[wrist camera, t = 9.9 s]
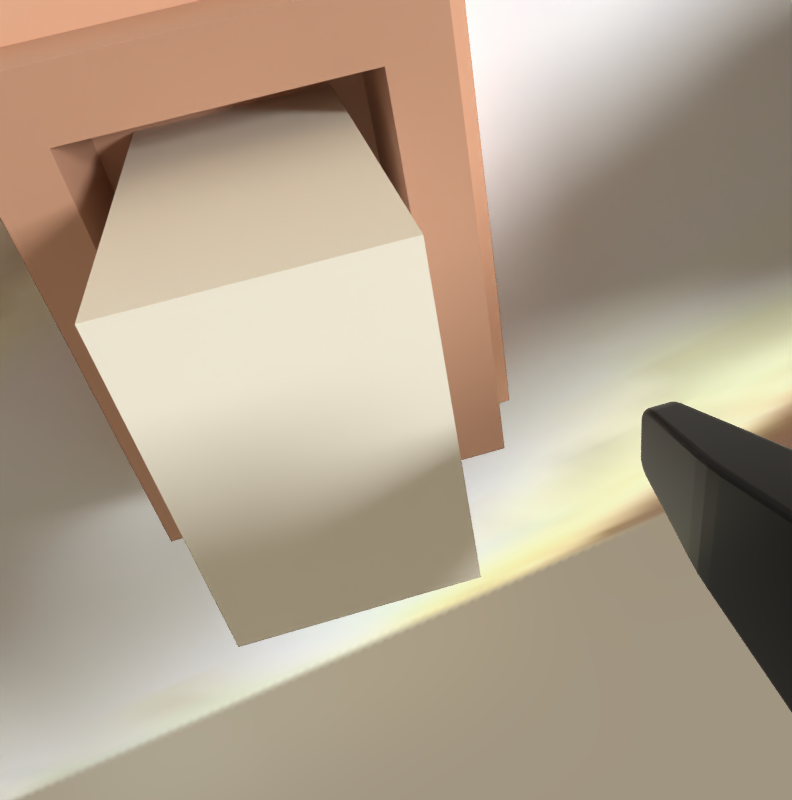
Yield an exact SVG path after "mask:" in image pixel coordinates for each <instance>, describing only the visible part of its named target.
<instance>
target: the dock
mask: <svg viewBox="0 0 792 800" xmlns="http://www.w3.org/2000/svg"><path fill="white" fill-rule="evenodd" d="M325 85H331V86H332V88H333V89H334V91H335V93H336V94H337V96H338V98H339V99H340V101H341V102H342V104H343V106H344V107H345V109H346V110H347V112H348V114H349V115H350V117H351V119H352V120H353V122H354V123H355V125H356V127H357V128H358V130H359V131H360V133H361V135H362V136H363V138H364V140H365V141H366V143H367V144H368V146H369V148H370V149H371V151H372V152H373V154H374V156H375V157H376V159H377V161H378V162H379V164H380V165H381V167H382V169H383V170H384V172H385V173H386V175H387V177H388V178H389V180H390V182H391V183H392V185H393V186H394V188H395V190H396V191H397V193H398V194H399V196H400V198H401V199H402V201H403V203H404V204H405V206H406V207H407V209H408V211H409V212H410V214H411V216H412V217H413V219H414V220H415V222H416V224H417V225H418V227H419V228H420V230H421V232H422V233H423V236H424V242H425V248H426V254H427V260H428V266H429V272H430V278H431V284H432V290H433V295H434V301H435V307H436V313H437V319H438V325H439V331H440V337H441V343H442V349H443V355H444V361H445V367H446V373H447V379H448V385H449V391H450V397H451V403H452V409H453V415H454V421H455V427H456V433H457V439H458V444H459V450H460V456H461V460H463V459H467V458H471V457H474V456H478V455H481V454H485V453H488V452H492V451H496V450H499V449H503V448H504V441H503V433H502V424H501V416H500V408H499V403H500V402H504V401H507V400H509V393H508V384H507V375H506V366H505V357H504V348H503V339H502V330H501V321H500V312H499V303H498V294H497V285H496V276H495V267H494V258H493V249H492V240H491V231H490V223H489V214H488V205H487V196H486V187H485V178H484V169H483V160H482V151H481V142H480V133H479V124H478V115H477V106H476V97H475V88H474V79H473V70H472V61H471V52H470V43H469V34H468V25H467V16H466V8H465V0H0V218H1V219H2V221H3V223H4V225H5V227H6V229H7V231H8V233H9V235H10V237H11V238H12V240H13V242H14V244H15V246H16V248H17V250H18V252H19V254H20V256H21V257H22V259H23V261H24V263H25V265H26V267H27V269H28V271H29V273H30V274H31V276H32V278H33V280H34V282H35V284H36V286H37V288H38V290H39V292H40V293H41V295H42V297H43V299H44V301H45V303H46V305H47V307H48V309H49V311H50V312H51V314H52V316H53V318H54V320H55V322H56V324H57V326H58V328H59V329H60V331H61V333H62V335H63V337H64V339H65V341H66V343H67V345H68V347H69V348H70V350H71V352H72V354H73V356H74V358H75V360H76V362H77V364H78V366H79V367H80V369H81V371H82V373H83V375H84V377H85V379H86V381H87V383H88V384H89V386H90V388H91V390H92V392H93V394H94V396H95V398H96V400H97V402H98V403H99V405H100V407H101V409H102V411H103V413H104V415H105V417H106V419H107V421H108V422H109V424H110V426H111V428H112V430H113V432H114V434H115V436H116V438H117V439H118V441H119V443H120V445H121V447H122V449H123V451H124V453H125V455H126V457H127V458H128V460H129V462H130V464H131V466H132V468H133V470H134V472H135V474H136V476H137V477H138V479H139V481H140V483H141V485H142V487H143V489H144V491H145V493H146V494H147V496H148V498H149V500H150V502H151V504H152V506H153V508H154V510H155V512H156V513H157V515H158V517H159V519H160V521H161V523H162V525H163V527H164V529H165V531H166V532H167V534H168V536H169V538H170V540H171V541H174V540H178V539H181V538H183V537H182V535H181V533H180V531H179V529H178V527H177V525H176V523H175V521H174V519H173V517H172V515H171V513H170V511H169V509H168V507H167V505H166V503H165V501H164V499H163V497H162V495H161V493H160V491H159V489H158V487H157V485H156V484H155V482H154V480H153V478H152V476H151V474H150V472H149V470H148V468H147V466H146V464H145V462H144V460H143V458H142V456H141V454H140V452H139V450H138V448H137V446H136V444H135V442H134V440H133V438H132V436H131V434H130V432H129V430H128V428H127V426H126V424H125V422H124V421H123V419H122V417H121V415H120V413H119V411H118V409H117V407H116V405H115V403H114V401H113V399H112V397H111V395H110V393H109V391H108V389H107V387H106V385H105V383H104V381H103V379H102V377H101V375H100V373H99V371H98V369H97V367H96V365H95V363H94V361H93V360H92V358H91V356H90V354H89V352H88V350H87V348H86V346H85V344H84V342H83V340H82V338H81V336H80V334H79V332H78V330H77V328H76V326H75V322H76V318H77V315H78V312H79V309H80V305H81V302H82V299H83V296H84V292H85V289H86V286H87V283H88V279H89V276H90V273H91V270H92V266H93V263H94V260H95V257H96V253H97V250H98V247H99V244H100V240H101V237H102V234H103V231H104V227H105V224H106V221H107V218H108V214H109V211H110V208H111V205H112V201H113V198H114V195H115V192H116V188H117V185H118V182H119V178H120V175H121V172H122V169H123V165H124V162H125V159H126V156H127V152H128V149H129V146H130V143H131V139H132V136H133V133H134V132H136V131H140V130H144V129H148V128H152V127H156V126H161V125H165V124H169V123H173V122H177V121H181V120H185V119H189V118H194V117H198V116H202V115H206V114H210V113H214V112H218V111H222V110H227V109H231V108H235V107H239V106H243V105H247V104H251V103H255V102H260V101H264V100H268V99H272V98H276V97H280V96H284V95H288V94H292V93H297V92H301V91H305V90H309V89H313V88H317V87H321V86H325Z"/></svg>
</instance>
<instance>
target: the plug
mask: <svg viewBox="0 0 792 800" xmlns="http://www.w3.org/2000/svg"><path fill="white" fill-rule="evenodd" d="M75 326H76V328H77V330H78V332H79V334H80V336H81V338H82V340H83V342H84V344H85V346H86V348H87V350H88V352H89V354H90V356H91V358H92V360H93V361H94V363H95V365H96V367H97V369H98V371H99V373H100V375H101V377H102V379H103V381H104V383H105V385H106V387H107V389H108V391H109V393H110V395H111V397H112V399H113V401H114V403H115V405H116V407H117V409H118V411H119V413H120V415H121V417H122V419H123V421H124V422H125V424H126V426H127V428H128V430H129V432H130V434H131V436H132V438H133V440H134V442H135V444H136V446H137V448H138V450H139V452H140V454H141V456H142V458H143V460H144V462H145V464H146V466H147V468H148V470H149V472H150V474H151V476H152V478H153V480H154V482H155V484H156V485H157V487H158V489H159V491H160V493H161V495H162V497H163V499H164V501H165V503H166V505H167V507H168V509H169V511H170V513H171V515H172V517H173V519H174V521H175V523H176V525H177V527H178V529H179V531H180V533H181V535H182V537H183V539H184V541H185V543H186V545H187V547H188V548H189V550H190V552H191V554H192V556H193V558H194V560H195V562H196V564H197V566H198V568H199V570H200V572H201V574H202V576H203V578H204V580H205V582H206V584H207V586H208V588H209V590H210V592H211V594H212V596H213V598H214V600H215V602H216V604H217V606H218V608H219V610H220V611H221V613H222V615H223V617H224V619H225V621H226V623H227V625H228V627H229V629H230V631H231V633H232V635H233V637H234V639H235V641H236V643H237V645H238V647H240V646H244V645H247V644H250V643H254V642H257V641H261V640H264V639H268V638H271V637H275V636H278V635H282V634H285V633H288V632H292V631H295V630H299V629H302V628H306V627H309V626H313V625H316V624H320V623H323V622H327V621H330V620H333V619H337V618H340V617H344V616H347V615H351V614H354V613H358V612H361V611H365V610H368V609H371V608H375V607H378V606H382V605H385V604H389V603H392V602H396V601H399V600H403V599H406V598H409V597H413V596H416V595H420V594H423V593H427V592H430V591H434V590H437V589H441V588H444V587H448V586H451V585H454V584H458V583H461V582H465V581H468V580H472V579H475V578H479V577H481V576H480V570H479V564H478V558H477V552H476V546H475V540H474V534H473V528H472V522H471V516H470V510H469V504H468V498H467V492H466V486H465V480H464V474H463V468H462V462H461V456H460V450H459V444H458V439H457V433H456V427H455V421H454V415H453V409H452V403H451V397H450V391H449V385H448V379H447V373H446V367H445V361H444V355H443V349H442V343H441V337H440V331H439V325H438V319H437V313H436V307H435V301H434V295H433V290H432V284H431V278H430V272H429V266H428V260H427V254H426V248H425V242H424V236H423V233H422V232H421V230H420V228H419V227H418V225H417V224H416V222H415V220H414V219H413V217H412V216H411V214H410V212H409V211H408V209H407V207H406V206H405V204H404V203H403V201H402V199H401V198H400V196H399V194H398V193H397V191H396V190H395V188H394V186H393V185H392V183H391V182H390V180H389V178H388V177H387V175H386V173H385V172H384V170H383V169H382V167H381V165H380V164H379V162H378V161H377V159H376V157H375V156H374V154H373V152H372V151H371V149H370V148H369V146H368V144H367V143H366V141H365V140H364V138H363V136H362V135H361V133H360V131H359V130H358V128H357V127H356V125H355V123H354V122H353V120H352V119H351V117H350V115H349V114H348V112H347V110H346V109H345V107H344V106H343V104H342V102H341V101H340V99H339V98H338V96H337V94H336V93H335V91H334V89H333V88H332V86H331V85H325V86H321V87H317V88H313V89H309V90H305V91H301V92H297V93H292V94H288V95H284V96H280V97H276V98H272V99H268V100H264V101H260V102H255V103H251V104H247V105H243V106H239V107H235V108H231V109H227V110H222V111H218V112H214V113H210V114H206V115H202V116H198V117H194V118H189V119H185V120H181V121H177V122H173V123H169V124H165V125H161V126H156V127H152V128H148V129H144V130H140V131H136V132H134V133H133V136H132V139H131V143H130V146H129V149H128V152H127V156H126V159H125V162H124V165H123V169H122V172H121V175H120V178H119V182H118V185H117V188H116V192H115V195H114V198H113V201H112V205H111V208H110V211H109V214H108V218H107V221H106V224H105V227H104V231H103V234H102V237H101V240H100V244H99V247H98V250H97V253H96V257H95V260H94V263H93V266H92V270H91V273H90V276H89V279H88V283H87V286H86V289H85V292H84V296H83V299H82V302H81V305H80V309H79V312H78V315H77V318H76V322H75Z"/></svg>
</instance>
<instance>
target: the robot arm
mask: <svg viewBox="0 0 792 800" xmlns="http://www.w3.org/2000/svg"><path fill="white" fill-rule="evenodd" d="M641 461H642V466H643V469H644V472H645V475H646V477H647V479H648V481H649V482H650V484H651V486H652V488H653V490H654V492H655V494H656V496H657V498H658V500H659V502H660V503H661V505H662V507H663V509H664V511H665V513H666V515H667V517H668V519H669V521H670V522H671V524H672V526H673V528H674V530H675V532H676V534H677V536H678V538H679V540H680V542H681V544H682V545H683V547H684V549H685V551H686V553H687V555H688V557H689V559H690V560H691V562H692V564H693V566H694V568H695V569H696V571H697V573H698V574H699V576H700V578H701V579H702V581H703V582H704V584H705V585H706V587H707V589H708V590H709V591H710V593H711V594H712V596H713V597H714V599H715V600H716V602H717V603H718V605H719V606H720V608H721V609H722V611H723V612H724V613H725V615H726V616H727V618H728V619H729V621H730V622H731V624H732V625H733V627H734V628H735V629H736V631H737V633H738V634H739V635H740V637H741V638H742V640H743V641H744V643H745V644H746V646H747V647H748V649H749V650H750V652H751V653H752V655H753V656H754V658H755V659H756V661H757V662H758V663H759V665H760V666H761V668H762V669H763V671H764V672H765V674H766V675H767V677H768V678H769V680H770V681H771V683H772V684H773V685H774V687H775V688H776V690H777V691H778V693H779V694H780V696H781V697H782V699H783V700H784V702H785V703H786V705H787V706H788V708H789V709H790V711H791V712H792V449H790V448H787V447H785V446H782V445H780V444H778V443H775V442H773V441H770V440H768V439H766V438H763V437H761V436H758V435H756V434H754V433H751V432H749V431H746V430H744V429H742V428H739V427H737V426H734V425H732V424H730V423H727V422H725V421H722V420H720V419H718V418H715V417H713V416H710V415H708V414H706V413H703V412H701V411H698V410H696V409H694V408H691V407H689V406H686V405H684V404H682V403H678V402H669V403H665V404H662V405H658V406H655V407H651V408H648V409H647V410H645V411H644V413H643V416H642V431H641Z"/></svg>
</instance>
